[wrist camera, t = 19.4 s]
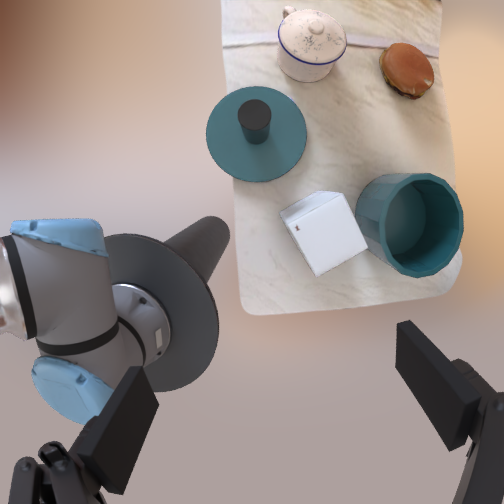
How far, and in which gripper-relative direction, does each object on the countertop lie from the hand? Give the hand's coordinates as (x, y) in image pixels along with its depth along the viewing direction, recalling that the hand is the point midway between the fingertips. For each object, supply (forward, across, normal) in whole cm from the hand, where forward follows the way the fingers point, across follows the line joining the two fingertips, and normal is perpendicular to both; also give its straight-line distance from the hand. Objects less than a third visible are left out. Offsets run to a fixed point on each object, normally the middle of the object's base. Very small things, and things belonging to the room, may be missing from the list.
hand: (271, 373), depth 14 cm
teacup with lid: (+33, +12, +29) cm, 45 cm away
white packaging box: (+33, +8, +2) cm, 34 cm away
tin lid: (+32, +2, +16) cm, 36 cm away
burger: (+33, +28, +24) cm, 50 cm away
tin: (+33, +21, 0) cm, 39 cm away
